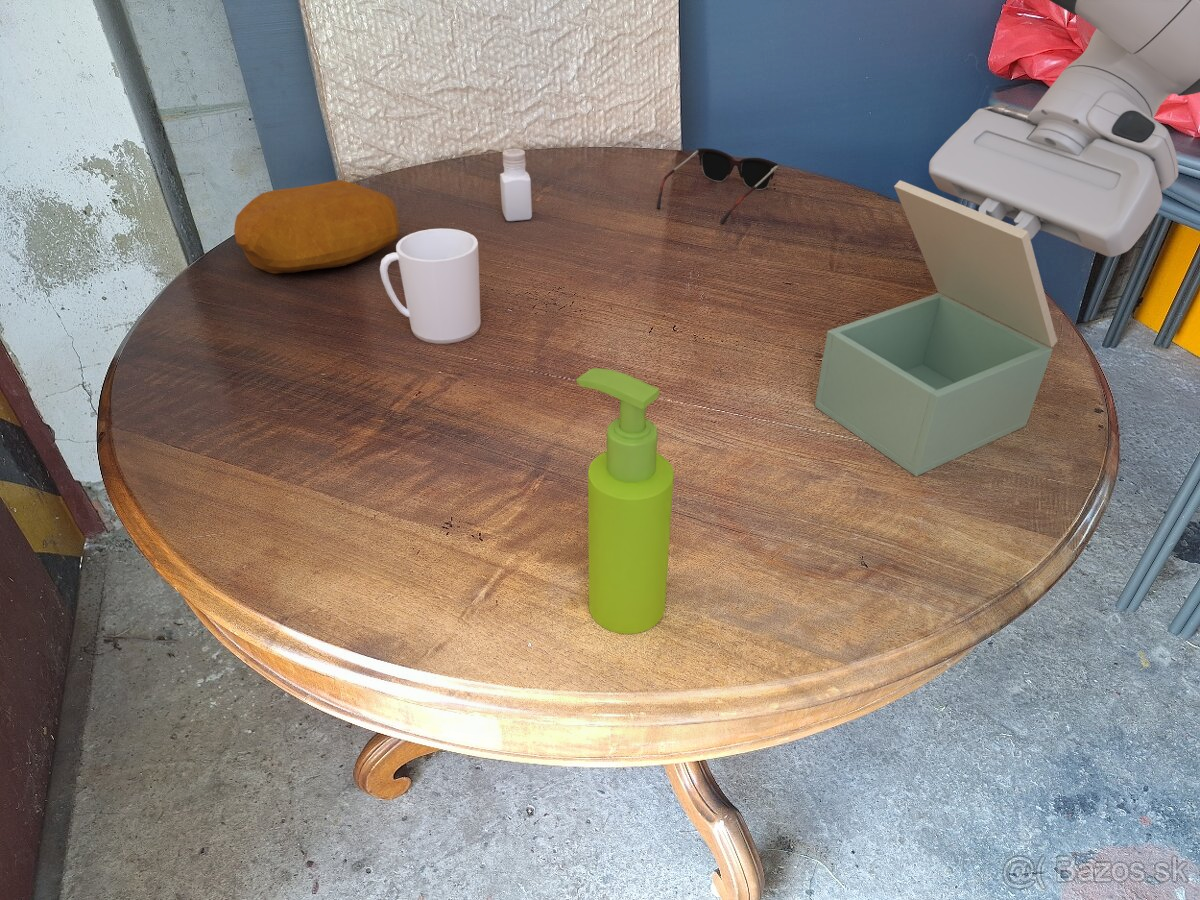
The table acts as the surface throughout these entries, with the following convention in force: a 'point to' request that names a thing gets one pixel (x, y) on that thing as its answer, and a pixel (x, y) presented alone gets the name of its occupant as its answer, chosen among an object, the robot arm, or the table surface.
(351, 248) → the bread
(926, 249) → the lid
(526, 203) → the salt shaker
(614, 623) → the soap dispenser
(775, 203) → the table surface
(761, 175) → the sunglasses
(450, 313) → the mug
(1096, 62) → the robot arm
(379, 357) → the table surface
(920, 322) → the green open box
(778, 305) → the table surface
